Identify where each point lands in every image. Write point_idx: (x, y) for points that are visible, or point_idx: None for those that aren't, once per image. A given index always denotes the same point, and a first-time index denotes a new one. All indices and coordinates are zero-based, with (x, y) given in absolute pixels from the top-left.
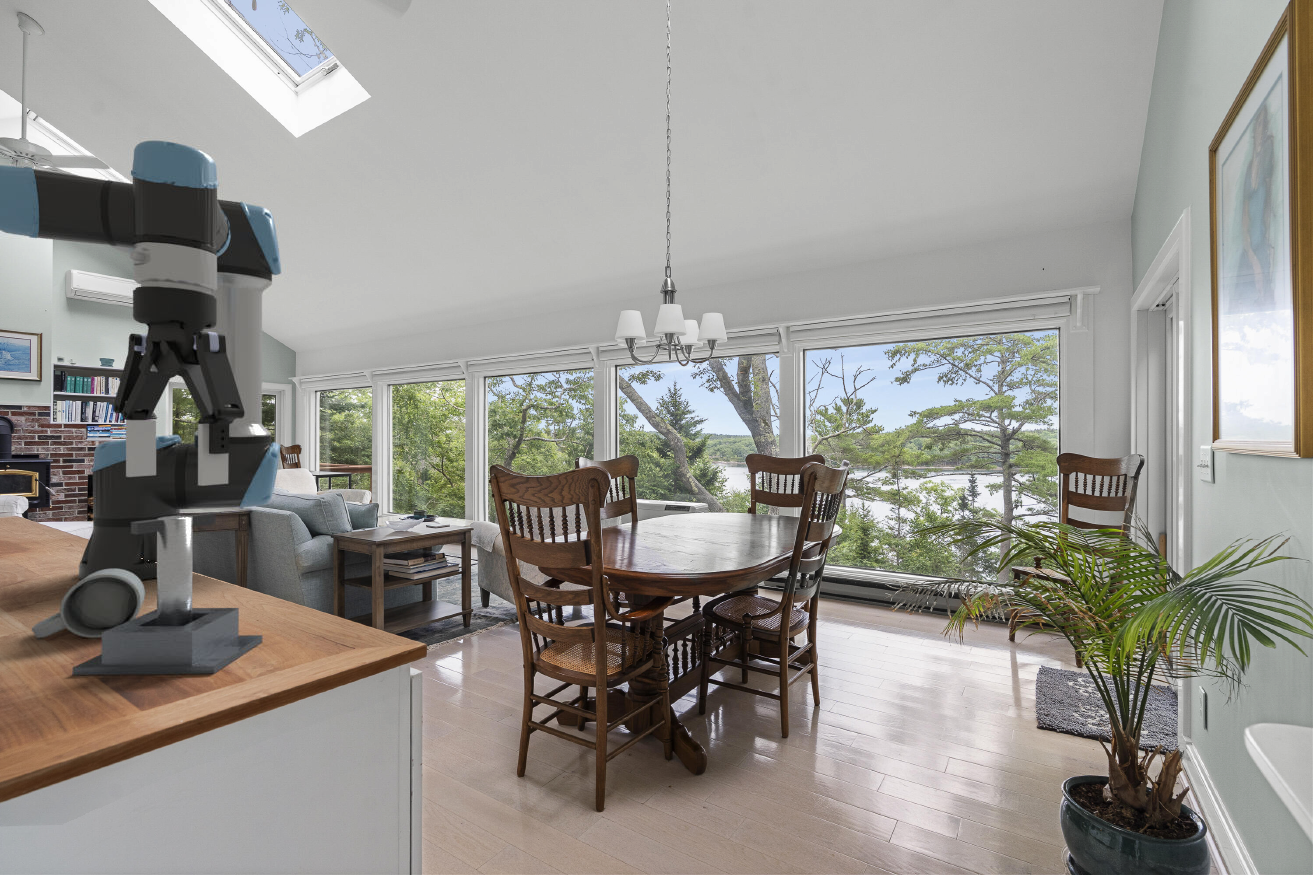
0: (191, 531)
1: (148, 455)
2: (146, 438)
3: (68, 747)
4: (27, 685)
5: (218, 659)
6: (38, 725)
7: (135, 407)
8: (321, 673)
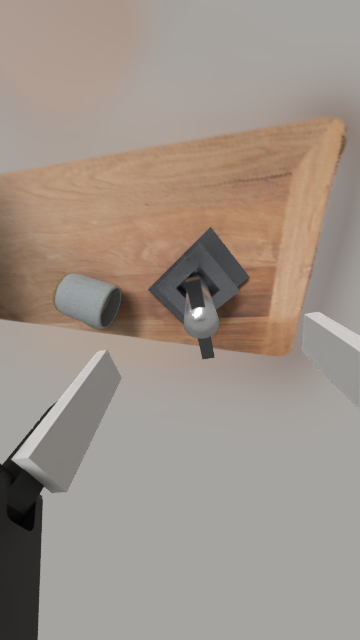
0: (211, 304)
1: (95, 384)
2: (78, 418)
3: (280, 343)
4: (186, 339)
5: (238, 270)
6: (245, 345)
7: (36, 545)
8: (313, 225)
